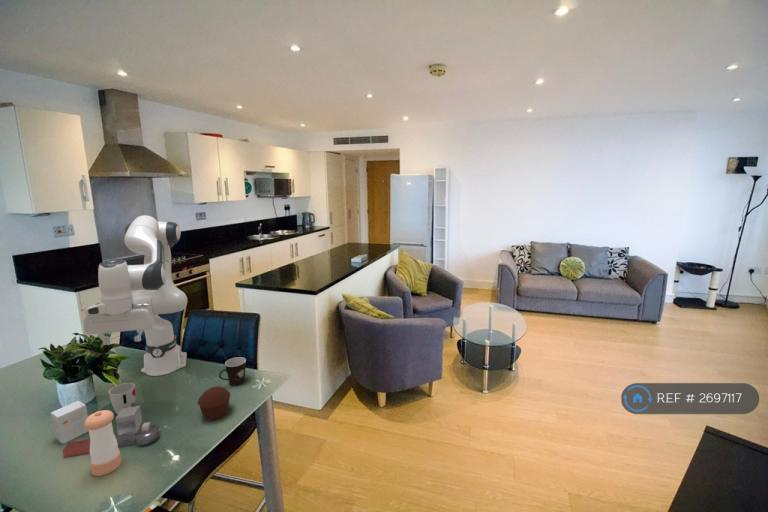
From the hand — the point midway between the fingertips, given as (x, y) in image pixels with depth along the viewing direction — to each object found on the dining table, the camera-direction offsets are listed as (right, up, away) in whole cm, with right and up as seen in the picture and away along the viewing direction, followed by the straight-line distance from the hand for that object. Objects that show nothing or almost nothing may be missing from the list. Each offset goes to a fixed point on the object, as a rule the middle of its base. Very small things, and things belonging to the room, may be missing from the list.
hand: (122, 342), depth 122 cm
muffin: (+28, -30, +10) cm, 43 cm away
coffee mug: (+26, -26, +31) cm, 48 cm away
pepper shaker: (+7, -35, -16) cm, 39 cm away
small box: (-16, -32, -2) cm, 36 cm away
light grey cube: (+2, -32, +1) cm, 32 cm away
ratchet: (+3, -33, -7) cm, 34 cm away
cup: (-7, -30, +11) cm, 33 cm away
